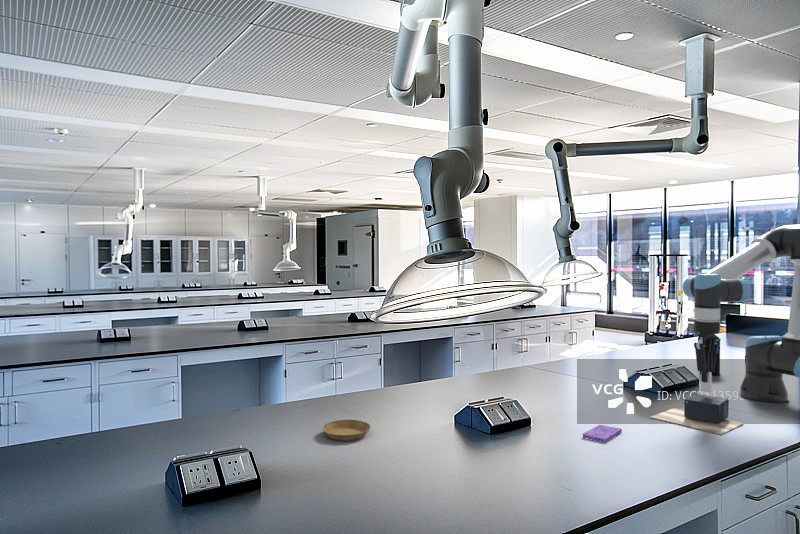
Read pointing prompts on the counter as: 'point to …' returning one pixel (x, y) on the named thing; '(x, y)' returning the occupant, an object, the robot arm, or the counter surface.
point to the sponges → (602, 433)
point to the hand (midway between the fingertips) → (706, 391)
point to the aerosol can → (717, 360)
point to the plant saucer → (346, 429)
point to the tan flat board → (696, 422)
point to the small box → (706, 408)
